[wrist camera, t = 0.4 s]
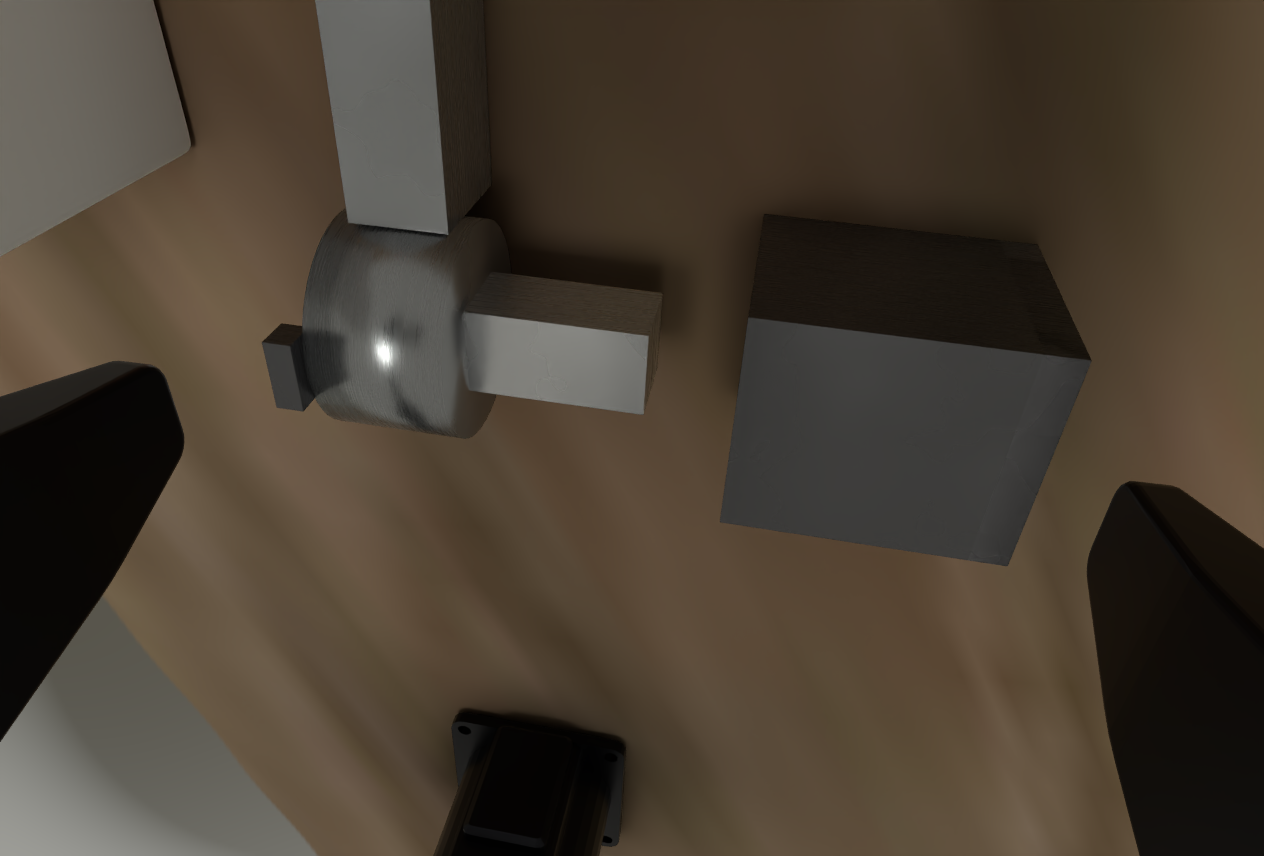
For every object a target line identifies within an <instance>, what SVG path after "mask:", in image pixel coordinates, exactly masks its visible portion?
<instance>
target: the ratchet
mask: <svg viewBox="0 0 1264 856" xmlns="http://www.w3.org/2000/svg"><path fill="white" fill-rule="evenodd" d="M315 2H316V9H317V16H318V22H319V29H320V36H321V43H322V49H323V56H324V63H325V69H326V76H327V83H328V90H329V96H330V103H331V110H332V116H333V123H334V130H335V137H336V143H337V150H338V157H339V164H340V170H341V177H342V184H343V190H344V197H345V204H346V208H345V209H344V210H343V211H341V212H340V213H339V214H338V215H337V216H336V217H335V218H334V219H333V221H332V222H331V223H330V225H329V226H328V228H327V230H326V231H325V233H324V235H323V237H322V239H321V241H320V243H319V245H318V248H317V250H316V253H315V256H314V259H313V262H312V265H311V269H310V273H309V277H308V281H307V287H306V292H305V299H304V307H303V323H302V326H296V325H289V324H282V323H281V324H280V325H279V326H278V327H277V328H276V329H275V330H274V331H273V332H272V333H271V334H270V335H269V336H268V337H267V338H266V339H265V340H264V341H263V342H262V345H263V349H264V354H265V358H266V362H267V367H268V371H269V376H270V380H271V384H272V389H273V393H274V398H275V402H276V406H277V408H283V409H290V410H297V411H304V410H305V409H306V408H307V407H308V405H309V404H310V403H311V402H312V401H313V399H314V398H315V399H316V401H317V403H318V404H319V405H320V407H321V408H322V410H323V411H324V412H325V413H326V414H327V415H329V416H330V417H332V418H334V419H337V420H341V421H348V422H355V423H362V424H368V425H375V426H382V427H389V428H396V429H402V430H409V431H416V432H423V433H430V434H436V435H443V436H450V437H457V438H464V439H466V438H470V437H472V436H474V435H475V434H476V433H477V432H478V431H479V430H480V428H481V427H482V426H483V424H484V422H485V421H486V419H487V417H488V415H489V413H490V411H491V408H492V406H493V403H494V401H495V398H496V395H497V394H499V395H506V396H513V397H520V398H527V399H534V400H541V401H548V402H556V403H563V404H570V405H577V406H584V407H591V408H598V409H605V410H612V411H620V412H627V413H634V414H641V415H643V414H644V411H645V408H646V404H647V401H648V398H649V394H650V391H651V387H652V384H653V381H654V377H655V374H656V371H657V365H658V351H659V338H660V324H661V311H662V297H663V293H659V292H651V291H643V290H635V289H627V288H619V287H611V286H603V285H594V284H586V283H578V282H570V281H562V280H554V279H546V278H538V277H530V276H522V275H514V274H511V265H510V257H509V252H508V247H507V243H506V240H505V237H504V234H503V232H502V230H501V228H500V226H499V225H498V224H497V223H496V222H495V221H494V220H491V219H486V218H477V217H469V216H465V215H466V214H467V212H468V211H469V210H470V209H471V208H472V207H473V205H474V204H475V203H476V202H477V201H478V200H479V199H480V197H481V196H482V195H483V194H484V193H485V192H486V190H487V189H488V188H489V187H490V186H491V185H492V176H491V155H490V134H489V113H488V92H487V71H486V50H485V29H484V8H483V0H315Z"/></svg>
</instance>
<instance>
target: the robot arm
mask: <svg viewBox="0 0 1264 856" xmlns="http://www.w3.org/2000/svg"><path fill="white" fill-rule="evenodd" d="M183 449H184V433H183V429H182V426H181V423H180V420H179V417H178V414H177V410H176V407H175V404H174V401H173V398H172V395H171V392H170V389H169V386H168V383H167V380H166V378H165V376H164V374H163V373H162V372H161V371H160V370H159V369H158V368H157V367H155V366H153V365H150V364H141V363H133V362H125V361H112V362H108V363H105V364H102V365H99V366H96V367H92V368H89V369H86V370H83V371H80V372H77V373H74V374H70V375H67V376H64V377H61V378H58V379H55V380H51V381H48V382H45V383H42V384H39V385H36V386H33V387H29V388H26V389H23V390H20V391H17V392H14V393H10V394H7V395H4V396H1V397H0V742H1V740H2V739H3V737H4V736H5V734H6V733H7V732H8V730H9V729H10V727H11V726H12V724H13V723H14V721H15V720H16V719H17V717H18V716H19V714H20V713H21V712H22V710H23V709H24V707H25V706H26V704H27V703H28V702H29V700H30V699H31V697H32V696H33V694H34V693H35V691H36V690H37V689H38V687H39V686H40V684H41V683H42V681H43V680H44V679H45V677H46V676H47V674H48V673H49V671H50V670H51V669H52V667H53V665H54V664H55V663H56V661H57V660H58V659H59V657H60V656H61V654H62V653H63V651H64V650H65V648H66V647H67V645H68V644H69V643H70V641H71V640H72V638H73V637H74V635H75V634H76V633H77V631H78V630H79V628H80V627H81V626H82V624H83V623H84V621H85V620H86V618H87V617H88V616H89V614H90V613H91V611H92V610H93V608H94V607H95V605H96V604H97V603H98V601H99V600H100V598H101V597H102V595H103V594H104V592H105V591H106V589H107V588H108V586H109V585H110V583H111V581H112V580H113V578H114V577H115V575H116V573H117V571H118V570H119V568H120V566H121V565H122V563H123V561H124V560H125V558H126V556H127V554H128V552H129V550H130V549H131V547H132V545H133V543H134V541H135V540H136V538H137V536H138V534H139V532H140V531H141V529H142V527H143V525H144V523H145V522H146V520H147V518H148V516H149V514H150V513H151V511H152V509H153V507H154V505H155V504H156V502H157V500H158V498H159V496H160V495H161V493H162V491H163V489H164V487H165V486H166V484H167V482H168V480H169V478H170V476H171V475H172V473H173V471H174V469H175V467H176V466H177V464H178V462H179V460H180V458H181V456H182V452H183ZM1087 582H1088V589H1089V597H1090V604H1091V612H1092V619H1093V627H1094V634H1095V642H1096V650H1097V657H1098V665H1099V672H1100V680H1101V687H1102V695H1103V703H1104V709H1105V716H1106V722H1107V728H1108V734H1109V738H1110V742H1111V746H1112V751H1113V755H1114V759H1115V763H1116V767H1117V771H1118V775H1119V779H1120V782H1121V786H1122V790H1123V794H1124V798H1125V802H1126V805H1127V809H1128V813H1129V817H1130V821H1131V824H1132V828H1133V832H1134V836H1135V840H1136V844H1137V847H1138V851H1139V855H1140V856H1264V548H1262V547H1261V546H1259V545H1258V544H1257V543H1255V542H1254V541H1252V540H1251V539H1250V538H1248V537H1247V536H1246V535H1244V534H1243V533H1241V532H1240V531H1239V530H1237V529H1236V528H1234V527H1233V526H1232V525H1230V524H1229V523H1227V522H1226V521H1225V520H1223V519H1222V518H1220V517H1219V516H1218V515H1216V514H1215V513H1213V512H1212V511H1211V510H1209V509H1208V508H1206V507H1205V506H1204V505H1202V504H1201V503H1199V502H1198V501H1197V500H1195V499H1194V498H1192V497H1191V496H1190V495H1188V494H1187V493H1185V492H1184V491H1183V490H1181V489H1179V488H1177V487H1174V486H1171V485H1162V484H1153V483H1145V482H1136V481H1129V482H1127V483H1125V484H1123V485H1121V486H1120V487H1119V489H1118V490H1117V491H1116V493H1115V495H1114V496H1113V499H1112V501H1111V503H1110V506H1109V508H1108V510H1107V513H1106V515H1105V517H1104V520H1103V522H1102V524H1101V527H1100V529H1099V531H1098V534H1097V536H1096V538H1095V541H1094V543H1093V545H1092V548H1091V550H1090V553H1089V557H1088V563H1087ZM452 737H453V745H454V753H455V762H456V770H457V779H458V787H459V788H458V791H457V794H456V796H455V799H454V802H453V804H452V807H451V810H450V812H449V815H448V818H447V820H446V823H445V826H444V829H443V831H442V834H441V837H440V839H439V842H438V845H437V847H436V850H435V853H434V855H433V856H599V854H600V849H601V845H602V846H609V847H612V846H616V845H617V844H618V842H619V837H620V832H621V818H622V804H623V790H624V776H625V761H626V747H625V746H624V745H623V744H622V743H620V742H619V741H616V740H612V739H606V738H601V737H595V736H590V735H585V734H579V733H574V732H568V731H563V730H557V729H552V728H547V727H541V726H536V725H530V724H525V723H520V722H514V721H509V720H503V719H498V718H492V717H487V716H482V715H476V714H471V713H459V714H457V715H456V716H455V719H454V721H453V724H452Z"/></svg>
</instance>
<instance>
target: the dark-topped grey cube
mask: <svg viewBox="0 0 1264 856" xmlns="http://www.w3.org/2000/svg"><path fill="white" fill-rule="evenodd" d="M1091 361H1092V360H1091V358H1090V356H1089V354H1088V352H1087V350H1086V347H1085V345H1084V343H1083V341H1082V339H1081V337H1080V335H1079V332H1078V330H1077V328H1076V326H1075V324H1074V322H1073V320H1072V317H1071V315H1070V313H1069V311H1068V309H1067V307H1066V305H1065V302H1064V300H1063V298H1062V296H1061V294H1060V292H1059V289H1058V287H1057V285H1056V283H1055V281H1054V279H1053V277H1052V274H1051V272H1050V270H1049V268H1048V266H1047V264H1046V262H1045V259H1044V257H1043V255H1042V253H1041V251H1040V249H1039V246H1038V245H1037V244H1028V243H1019V242H1010V241H1001V240H992V239H984V238H975V237H966V236H957V235H948V234H939V233H930V232H921V231H912V230H903V229H894V228H885V227H876V226H868V225H859V224H850V223H841V222H832V221H823V220H814V219H805V218H796V217H787V216H778V215H769V214H764V218H763V225H762V231H761V238H760V244H759V251H758V257H757V264H756V271H755V277H754V284H753V290H752V297H751V303H750V310H749V316H748V324H747V331H746V338H745V345H744V352H743V359H742V367H741V374H740V381H739V388H738V395H737V403H736V410H735V417H734V424H733V431H732V439H731V446H730V453H729V460H728V467H727V475H726V482H725V489H724V496H723V503H722V511H721V518H720V522H723V523H729V524H736V525H742V526H749V527H755V528H762V529H768V530H775V531H781V532H788V533H794V534H801V535H807V536H814V537H820V538H827V539H833V540H840V541H846V542H853V543H859V544H866V545H872V546H879V547H885V548H892V549H898V550H905V551H911V552H918V553H924V554H931V555H937V556H944V557H950V558H957V559H963V560H970V561H976V562H983V563H989V564H996V565H1003V566H1008V564H1009V561H1010V559H1011V557H1012V554H1013V552H1014V549H1015V547H1016V544H1017V542H1018V539H1019V537H1020V535H1021V532H1022V530H1023V527H1024V525H1025V522H1026V520H1027V517H1028V515H1029V513H1030V510H1031V508H1032V505H1033V503H1034V500H1035V498H1036V495H1037V493H1038V491H1039V488H1040V486H1041V483H1042V481H1043V478H1044V476H1045V473H1046V471H1047V469H1048V466H1049V464H1050V461H1051V459H1052V456H1053V454H1054V451H1055V449H1056V447H1057V444H1058V442H1059V439H1060V437H1061V434H1062V432H1063V429H1064V427H1065V425H1066V422H1067V420H1068V417H1069V415H1070V412H1071V410H1072V407H1073V405H1074V403H1075V400H1076V398H1077V395H1078V393H1079V390H1080V388H1081V385H1082V383H1083V381H1084V378H1085V376H1086V373H1087V371H1088V368H1089V366H1090V363H1091Z"/></svg>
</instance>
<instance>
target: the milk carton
mask: <svg viewBox="0 0 1264 856" xmlns="http://www.w3.org/2000/svg"><path fill="white" fill-rule="evenodd" d="M190 147H191V142H190V137H189V132H188V128H187V124H186V120H185V117H184V113H183V109H182V105H181V101H180V98H179V94H178V90H177V87H176V83H175V79H174V75H173V72H172V68H171V64H170V61H169V57H168V53H167V49H166V46H165V42H164V38H163V35H162V31H161V27H160V23H159V20H158V16H157V12H156V9H155V5H154V1H153V0H0V257H1V256H2V255H4V254H6V253H8V252H10V251H11V250H13V249H15V248H17V247H18V246H20V245H22V244H24V243H26V242H27V241H29V240H31V239H33V238H35V237H36V236H38V235H40V234H42V233H44V232H45V231H47V230H49V229H51V228H53V227H54V226H56V225H58V224H60V223H62V222H63V221H65V220H67V219H69V218H71V217H72V216H74V215H76V214H78V213H80V212H81V211H83V210H85V209H87V208H89V207H90V206H92V205H94V204H96V203H98V202H99V201H101V200H103V199H105V198H107V197H108V196H110V195H112V194H114V193H116V192H117V191H119V190H121V189H123V188H125V187H126V186H128V185H130V184H132V183H134V182H135V181H137V180H139V179H141V178H143V177H144V176H146V175H148V174H150V173H152V172H153V171H155V170H157V169H159V168H160V167H162V166H164V165H166V164H168V163H169V162H171V161H173V160H175V159H177V158H178V157H180V156H182V155H184V154H185V153H186V152H188V151H189V149H190Z"/></svg>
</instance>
